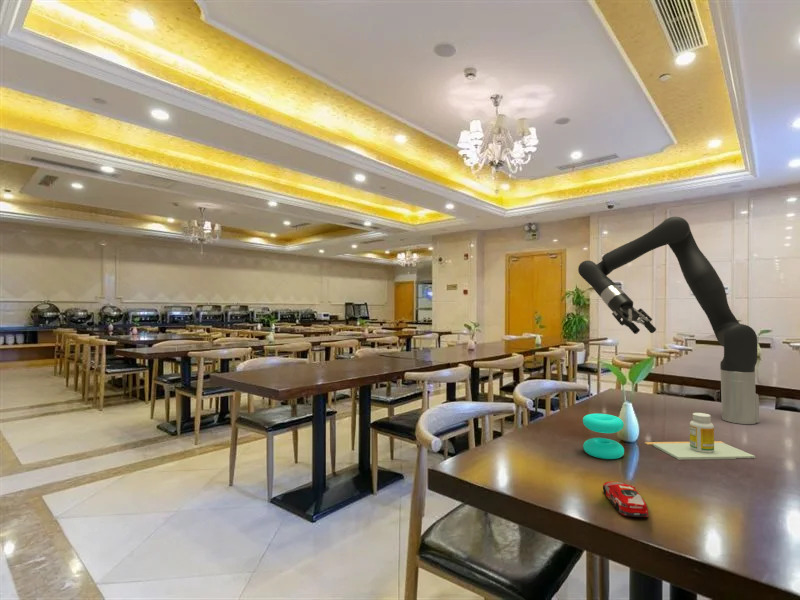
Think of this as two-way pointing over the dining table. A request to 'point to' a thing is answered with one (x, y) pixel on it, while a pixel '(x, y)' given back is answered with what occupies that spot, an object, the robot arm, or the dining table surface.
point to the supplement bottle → (701, 433)
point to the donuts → (603, 445)
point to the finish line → (673, 442)
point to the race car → (625, 499)
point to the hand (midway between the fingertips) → (645, 331)
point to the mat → (686, 453)
